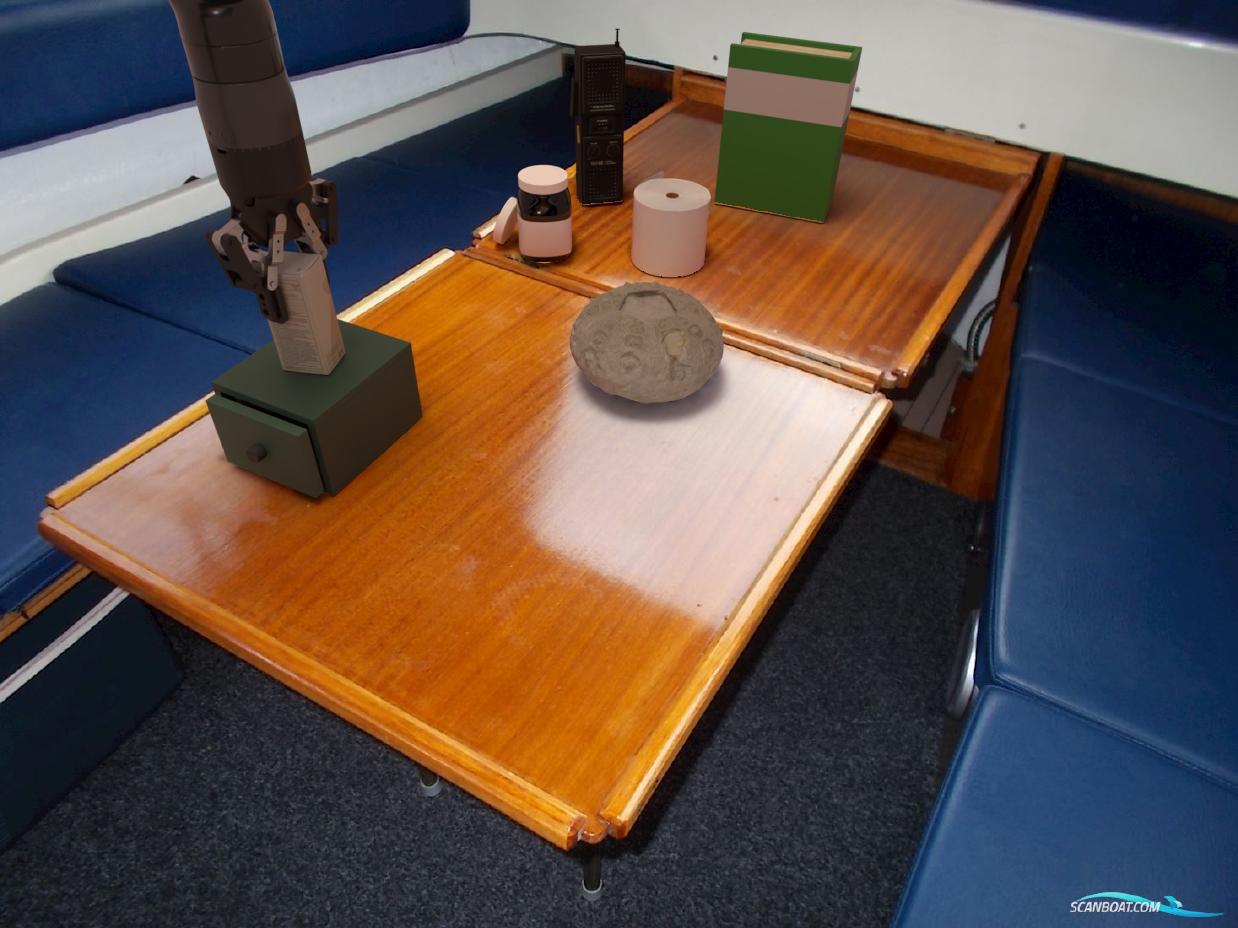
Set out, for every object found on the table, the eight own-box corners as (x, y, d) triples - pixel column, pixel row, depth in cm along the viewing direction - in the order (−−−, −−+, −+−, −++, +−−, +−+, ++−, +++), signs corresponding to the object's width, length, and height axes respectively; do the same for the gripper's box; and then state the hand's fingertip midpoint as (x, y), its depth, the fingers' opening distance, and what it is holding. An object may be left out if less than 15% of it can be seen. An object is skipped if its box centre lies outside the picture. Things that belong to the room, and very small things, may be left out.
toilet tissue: (666, 286, 119) (670, 218, 112) (609, 253, 125) (610, 187, 119) (719, 263, 124) (727, 196, 118) (663, 233, 131) (666, 168, 124)
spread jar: (575, 268, 122) (574, 189, 114) (495, 272, 121) (489, 192, 113) (567, 229, 131) (566, 154, 123) (492, 232, 130) (486, 156, 122)
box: (347, 353, 88) (325, 254, 80) (328, 377, 85) (304, 276, 77) (299, 347, 88) (273, 248, 81) (278, 370, 85) (250, 269, 78)
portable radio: (576, 209, 136) (574, 39, 120) (568, 193, 141) (565, 27, 124) (624, 204, 138) (629, 36, 121) (615, 189, 142) (618, 25, 126)
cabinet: (334, 497, 86) (313, 420, 79) (237, 457, 90) (210, 381, 84) (423, 416, 96) (411, 342, 89) (332, 384, 100) (314, 311, 94)
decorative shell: (750, 379, 103) (761, 306, 96) (646, 444, 93) (650, 368, 87) (643, 320, 112) (646, 250, 105) (539, 374, 103) (535, 300, 96)
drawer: (307, 506, 84) (288, 443, 78) (218, 468, 87) (195, 407, 82) (401, 422, 94) (390, 362, 88) (318, 392, 97) (303, 332, 92)
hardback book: (714, 204, 139) (730, 45, 123) (726, 187, 144) (743, 31, 128) (822, 224, 134) (854, 61, 119) (831, 205, 140) (862, 47, 124)
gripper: (280, 94, 77) (319, 266, 88) (150, 147, 67) (212, 332, 79) (347, 109, 75) (378, 283, 86) (221, 166, 65) (275, 354, 76)
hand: (298, 306), depth 82 cm, fingers closed on box, 5 cm apart
